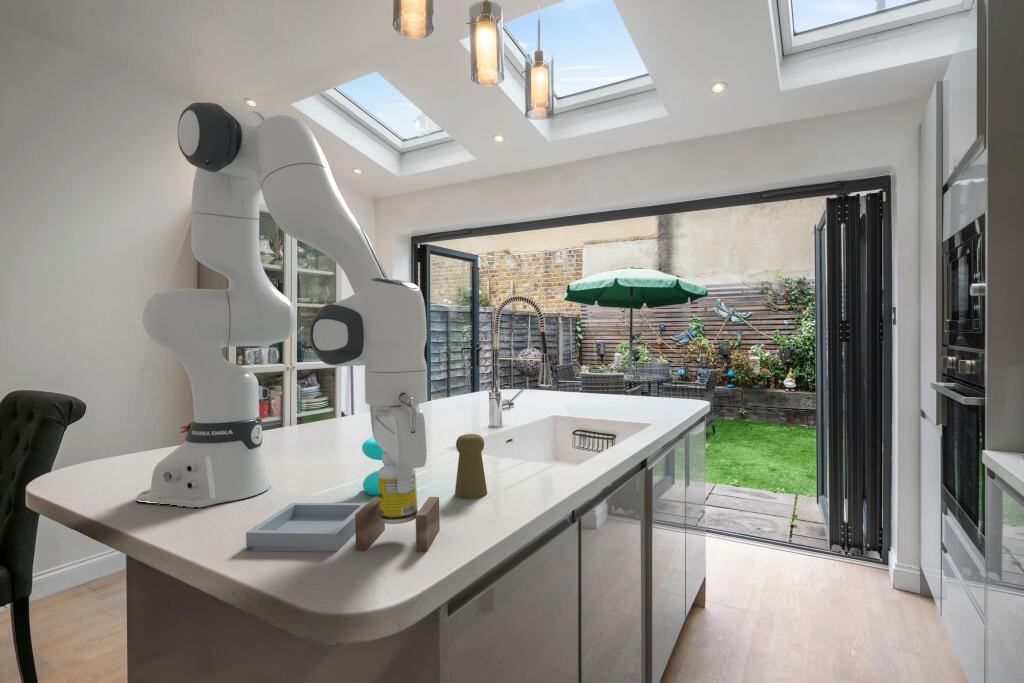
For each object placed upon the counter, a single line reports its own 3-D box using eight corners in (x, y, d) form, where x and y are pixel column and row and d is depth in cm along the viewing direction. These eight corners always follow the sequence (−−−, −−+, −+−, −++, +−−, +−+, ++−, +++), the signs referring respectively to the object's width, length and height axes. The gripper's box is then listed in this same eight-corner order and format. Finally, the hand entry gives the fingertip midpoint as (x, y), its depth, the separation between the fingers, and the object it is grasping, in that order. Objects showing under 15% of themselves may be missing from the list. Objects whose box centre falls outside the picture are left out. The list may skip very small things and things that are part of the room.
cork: (482, 499, 94) (481, 438, 94) (450, 498, 95) (449, 437, 95) (490, 489, 100) (489, 432, 100) (460, 488, 101) (459, 431, 101)
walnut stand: (355, 550, 73) (355, 514, 73) (375, 529, 81) (374, 496, 81) (427, 551, 72) (426, 515, 72) (439, 529, 80) (439, 496, 80)
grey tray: (246, 550, 73) (246, 532, 73) (292, 517, 86) (292, 502, 86) (336, 551, 72) (336, 533, 72) (369, 518, 85) (369, 503, 85)
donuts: (351, 442, 97) (378, 432, 107) (352, 496, 97) (379, 481, 107) (400, 444, 95) (423, 434, 104) (401, 500, 95) (425, 484, 104)
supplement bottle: (384, 514, 79) (381, 448, 79) (420, 512, 79) (417, 447, 79) (375, 526, 74) (373, 455, 74) (414, 524, 74) (411, 453, 74)
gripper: (437, 397, 68) (439, 503, 68) (402, 382, 87) (403, 465, 87) (388, 400, 65) (390, 510, 66) (363, 384, 84) (364, 470, 84)
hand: (397, 484), depth 77 cm, fingers closed on supplement bottle, 5 cm apart
